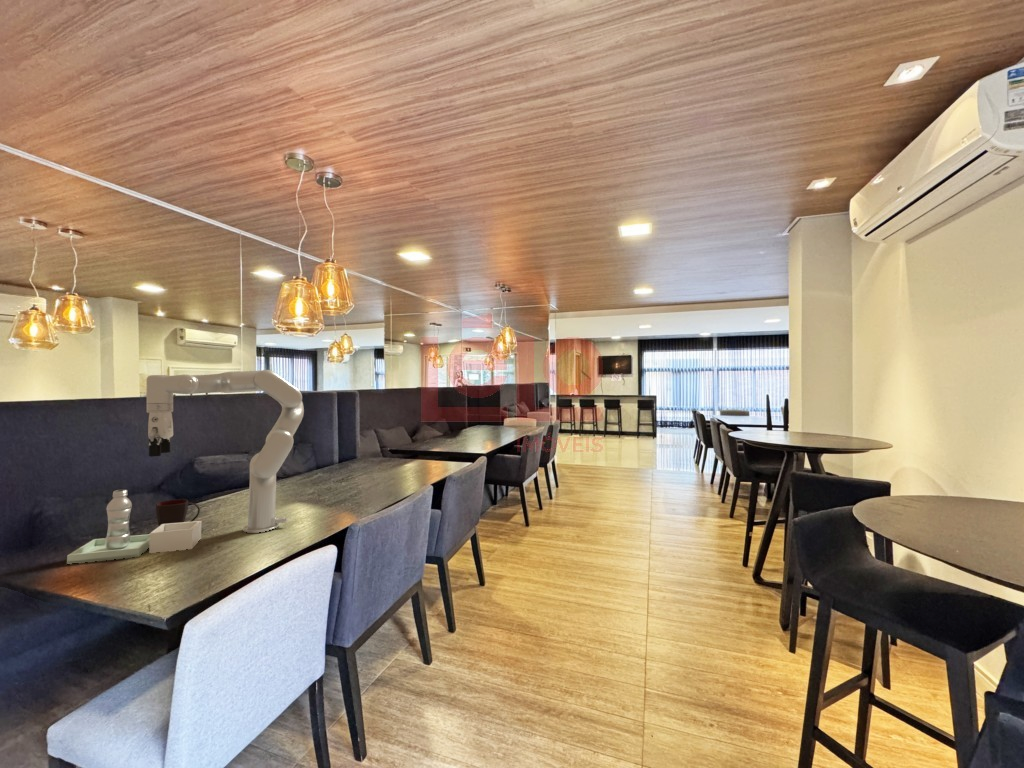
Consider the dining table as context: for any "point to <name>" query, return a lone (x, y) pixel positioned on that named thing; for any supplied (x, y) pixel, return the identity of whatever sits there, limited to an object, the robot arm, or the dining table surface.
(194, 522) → the white storage bin
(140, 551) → the tray
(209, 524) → the dining table surface
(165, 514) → the mug
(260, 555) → the dining table surface
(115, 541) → the plastic bottle
